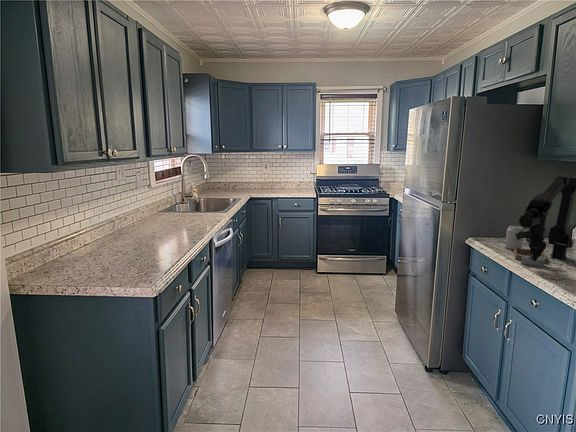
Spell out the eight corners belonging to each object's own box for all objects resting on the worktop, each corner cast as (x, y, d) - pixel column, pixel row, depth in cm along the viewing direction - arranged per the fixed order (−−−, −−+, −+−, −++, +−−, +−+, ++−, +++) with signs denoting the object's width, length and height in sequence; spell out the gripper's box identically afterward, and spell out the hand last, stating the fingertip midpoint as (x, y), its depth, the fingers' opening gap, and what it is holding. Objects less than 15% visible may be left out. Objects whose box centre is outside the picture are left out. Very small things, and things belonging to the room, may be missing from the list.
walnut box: (513, 251, 192) (514, 247, 191) (542, 255, 186) (543, 251, 185) (515, 259, 179) (515, 255, 179) (546, 263, 173) (547, 259, 173)
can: (524, 250, 193) (527, 228, 191) (510, 250, 193) (513, 228, 191) (515, 246, 201) (518, 225, 198) (501, 246, 201) (504, 225, 198)
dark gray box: (521, 262, 176) (521, 254, 176) (543, 265, 171) (544, 258, 171) (520, 264, 172) (521, 257, 171) (543, 268, 167) (544, 261, 167)
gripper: (515, 219, 180) (511, 250, 183) (518, 227, 164) (514, 261, 167) (543, 222, 174) (538, 253, 178) (548, 230, 158) (543, 264, 161)
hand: (533, 258), depth 171 cm, fingers open, 9 cm apart
